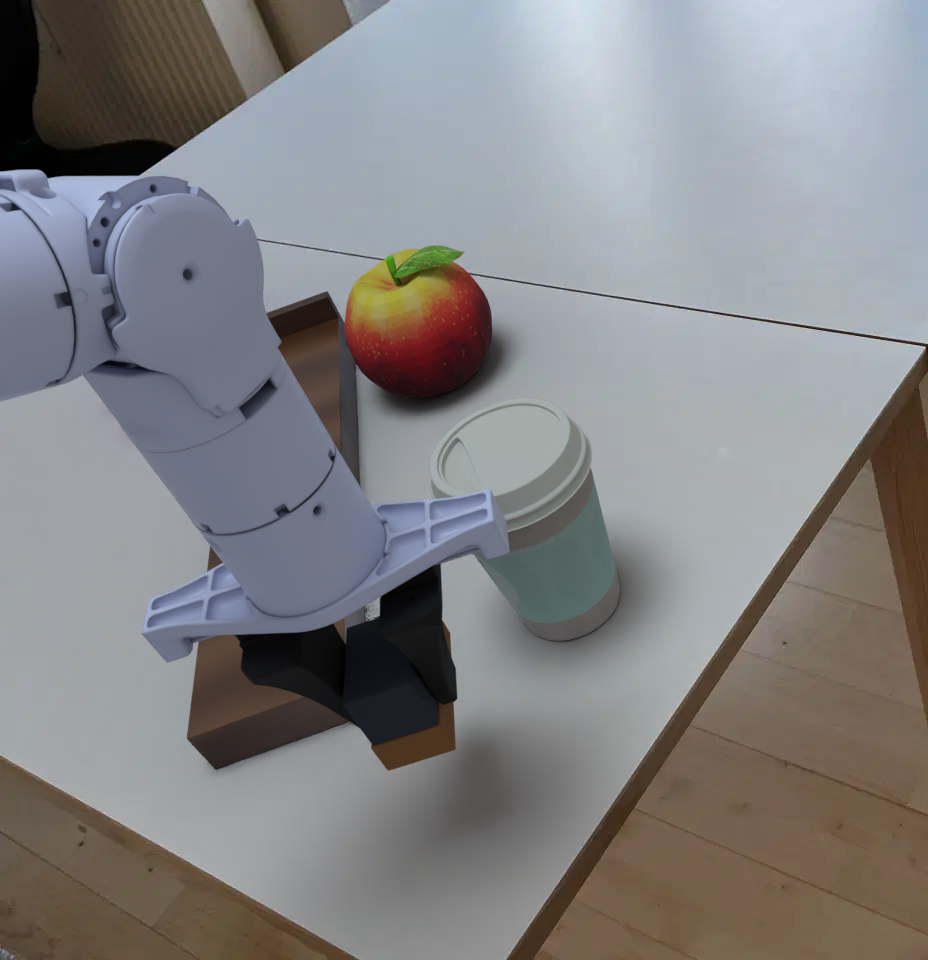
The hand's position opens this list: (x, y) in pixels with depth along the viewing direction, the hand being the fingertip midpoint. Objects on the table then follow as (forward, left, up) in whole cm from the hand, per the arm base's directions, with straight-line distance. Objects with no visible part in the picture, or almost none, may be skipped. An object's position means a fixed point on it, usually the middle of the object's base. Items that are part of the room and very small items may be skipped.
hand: (409, 698), depth 49 cm
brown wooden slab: (+7, +29, -8) cm, 31 cm away
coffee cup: (+12, +5, -9) cm, 15 cm away
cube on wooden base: (+1, +1, -1) cm, 2 cm away
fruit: (+23, +31, -9) cm, 39 cm away
